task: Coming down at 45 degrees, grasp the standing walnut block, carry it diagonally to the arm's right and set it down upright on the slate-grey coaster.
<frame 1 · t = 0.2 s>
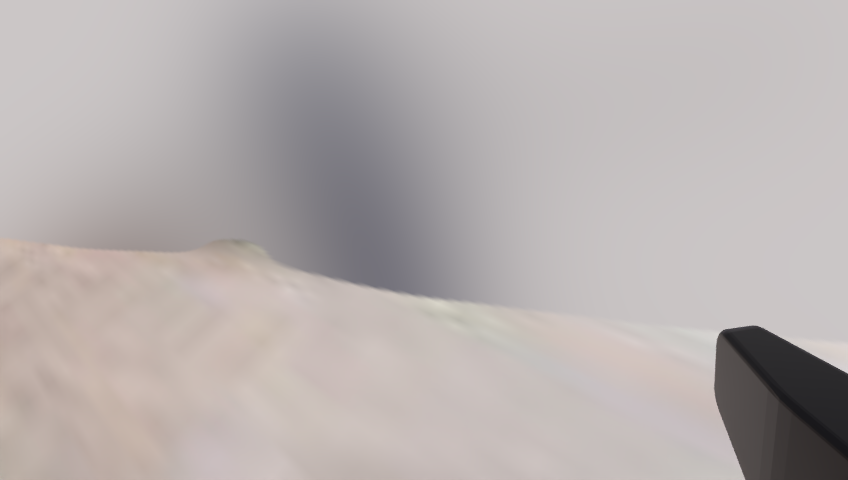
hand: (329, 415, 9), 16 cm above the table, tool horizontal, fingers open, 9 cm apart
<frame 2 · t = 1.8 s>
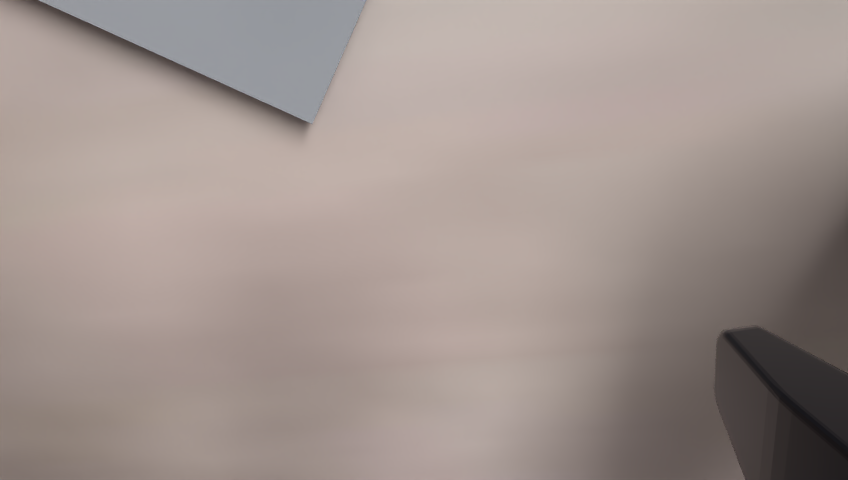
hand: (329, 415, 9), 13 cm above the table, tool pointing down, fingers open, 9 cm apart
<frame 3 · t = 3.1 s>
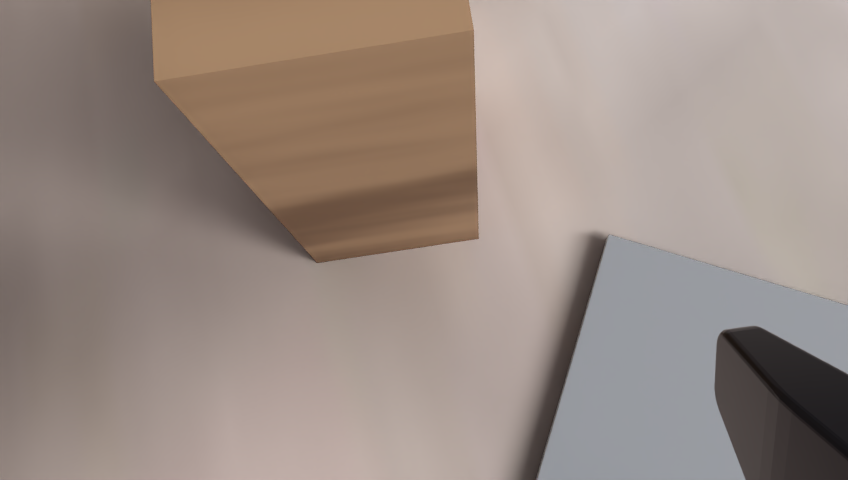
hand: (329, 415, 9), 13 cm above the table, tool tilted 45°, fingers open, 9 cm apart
walnut block: (387, 174, 24), on the table
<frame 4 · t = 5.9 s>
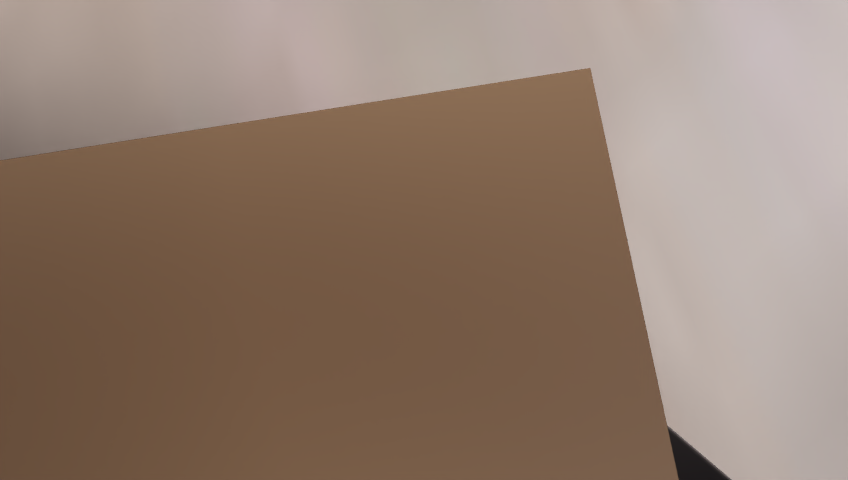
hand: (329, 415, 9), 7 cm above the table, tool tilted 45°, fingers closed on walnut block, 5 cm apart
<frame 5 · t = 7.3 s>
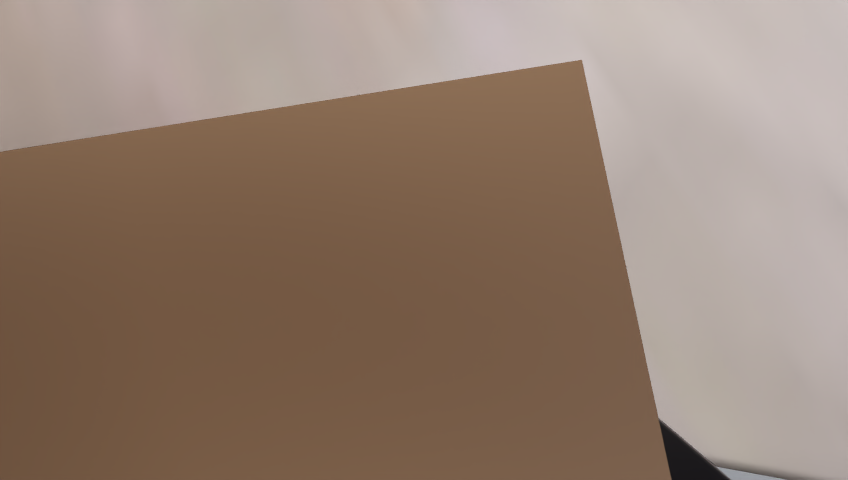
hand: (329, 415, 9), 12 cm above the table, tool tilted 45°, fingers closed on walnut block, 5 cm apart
when the fingers open (8 cm above the table, at t = 9.0 s): walnut block drops 1 cm, resting on coaster.
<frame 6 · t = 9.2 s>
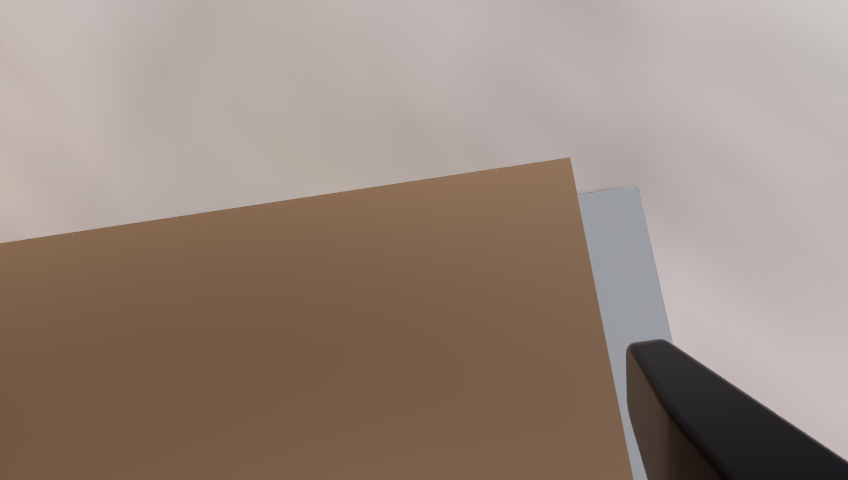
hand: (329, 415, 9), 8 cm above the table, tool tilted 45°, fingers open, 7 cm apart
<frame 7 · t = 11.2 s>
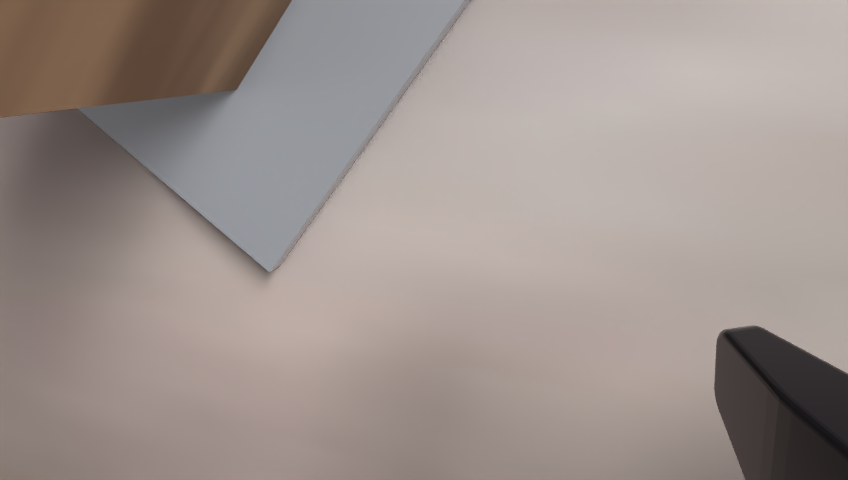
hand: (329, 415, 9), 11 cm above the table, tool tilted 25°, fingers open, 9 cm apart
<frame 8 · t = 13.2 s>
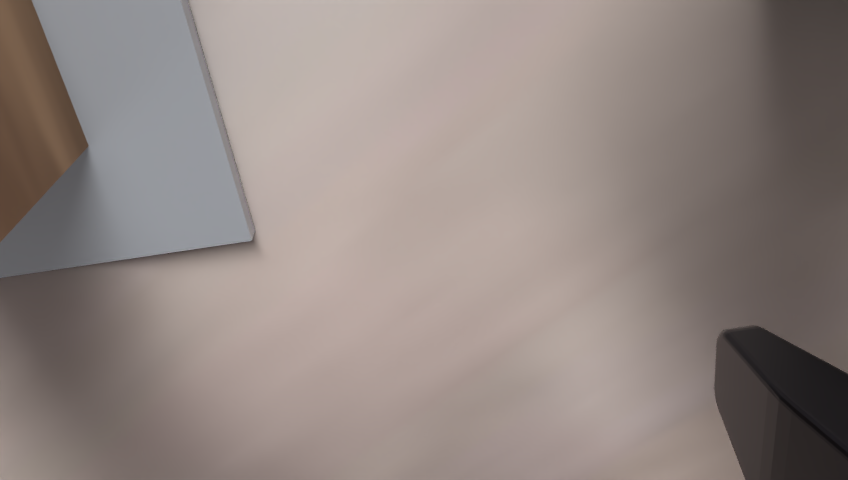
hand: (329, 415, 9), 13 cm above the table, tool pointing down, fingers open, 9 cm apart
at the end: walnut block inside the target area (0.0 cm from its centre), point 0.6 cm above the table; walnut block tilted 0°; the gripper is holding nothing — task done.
